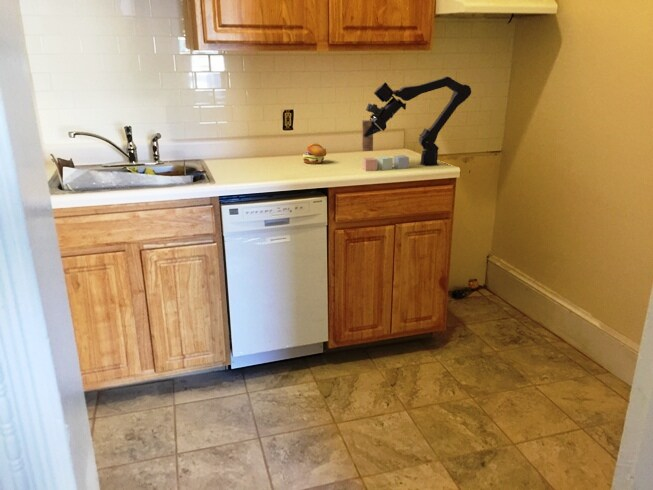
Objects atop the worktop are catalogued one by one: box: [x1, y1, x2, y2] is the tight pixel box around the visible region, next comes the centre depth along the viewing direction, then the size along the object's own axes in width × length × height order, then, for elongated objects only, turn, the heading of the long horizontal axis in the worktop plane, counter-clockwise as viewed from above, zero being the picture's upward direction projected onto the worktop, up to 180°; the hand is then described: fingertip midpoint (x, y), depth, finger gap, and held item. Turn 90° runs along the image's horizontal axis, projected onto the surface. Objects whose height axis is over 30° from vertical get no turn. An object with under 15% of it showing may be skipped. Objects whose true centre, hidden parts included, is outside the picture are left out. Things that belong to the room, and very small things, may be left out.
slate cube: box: [393, 154, 410, 170], centre depth 244 cm, size 5×5×5 cm
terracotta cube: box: [362, 156, 378, 172], centre depth 240 cm, size 5×5×5 cm
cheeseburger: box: [302, 142, 327, 165], centre depth 257 cm, size 10×11×10 cm
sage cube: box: [376, 155, 394, 171], centre depth 242 cm, size 5×5×5 cm
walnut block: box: [361, 119, 374, 152], centre depth 246 cm, size 4×4×13 cm
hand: (364, 135), depth 246 cm, fingers closed on walnut block, 4 cm apart
